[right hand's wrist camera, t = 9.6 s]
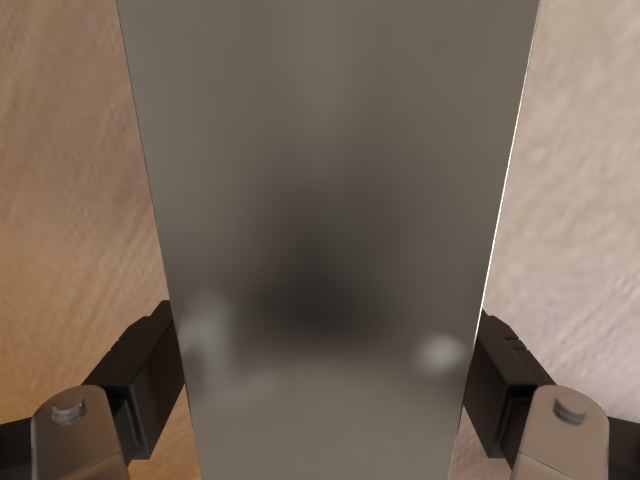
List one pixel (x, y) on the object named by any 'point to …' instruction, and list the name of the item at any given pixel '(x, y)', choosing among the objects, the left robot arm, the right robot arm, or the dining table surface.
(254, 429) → the box
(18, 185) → the dining table surface
